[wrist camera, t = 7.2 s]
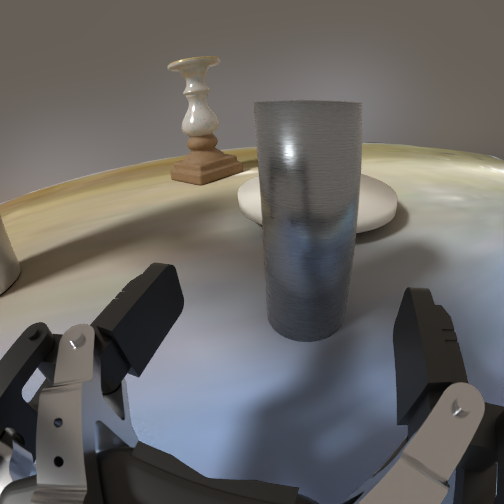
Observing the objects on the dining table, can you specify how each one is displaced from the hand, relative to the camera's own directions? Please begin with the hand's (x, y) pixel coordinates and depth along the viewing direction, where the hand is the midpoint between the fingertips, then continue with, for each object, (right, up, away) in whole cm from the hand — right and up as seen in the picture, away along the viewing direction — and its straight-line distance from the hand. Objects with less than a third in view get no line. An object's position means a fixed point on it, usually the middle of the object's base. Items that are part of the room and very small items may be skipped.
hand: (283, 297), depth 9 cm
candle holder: (-10, +17, +46) cm, 51 cm away
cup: (+3, -3, +10) cm, 11 cm away
